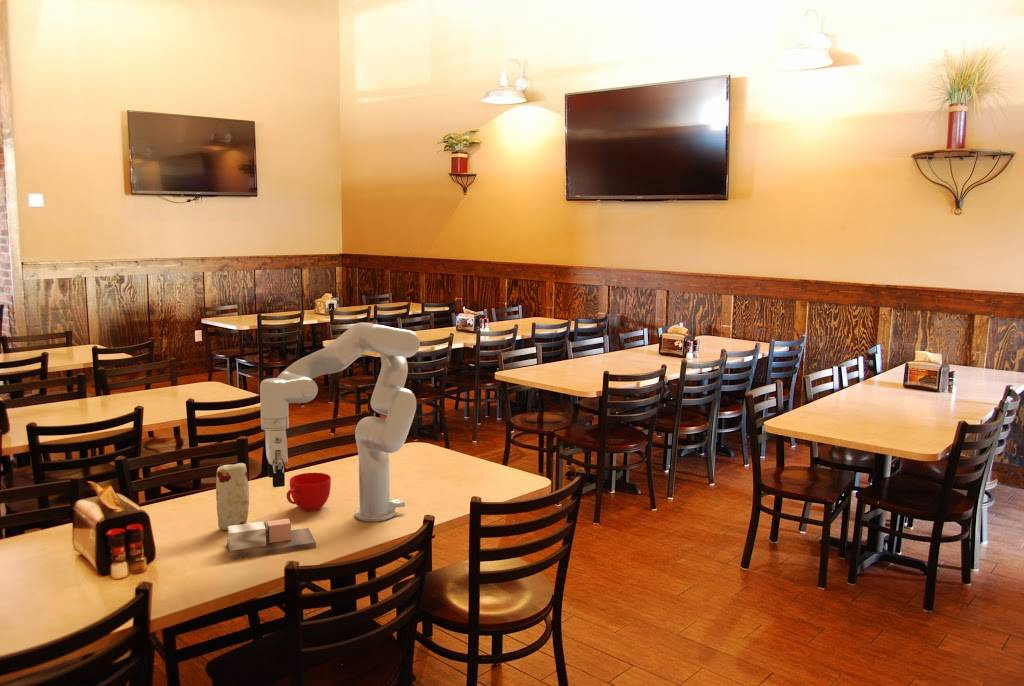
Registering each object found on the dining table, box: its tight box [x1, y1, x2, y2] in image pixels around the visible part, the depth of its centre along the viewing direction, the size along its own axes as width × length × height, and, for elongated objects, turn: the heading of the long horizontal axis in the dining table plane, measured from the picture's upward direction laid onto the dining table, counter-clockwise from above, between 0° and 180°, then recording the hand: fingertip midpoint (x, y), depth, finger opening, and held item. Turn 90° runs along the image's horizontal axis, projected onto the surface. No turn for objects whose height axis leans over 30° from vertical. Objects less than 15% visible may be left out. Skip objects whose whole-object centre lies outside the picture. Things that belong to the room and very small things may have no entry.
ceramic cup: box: [286, 472, 332, 512], centre depth 261 cm, size 13×17×10 cm
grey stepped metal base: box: [226, 521, 317, 561], centre depth 232 cm, size 23×12×6 cm, turn 114°
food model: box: [215, 462, 250, 531], centre depth 244 cm, size 10×7×20 cm
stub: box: [266, 518, 292, 543], centre depth 232 cm, size 6×4×5 cm, turn 114°
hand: (276, 481), depth 230 cm, fingers open, 9 cm apart
